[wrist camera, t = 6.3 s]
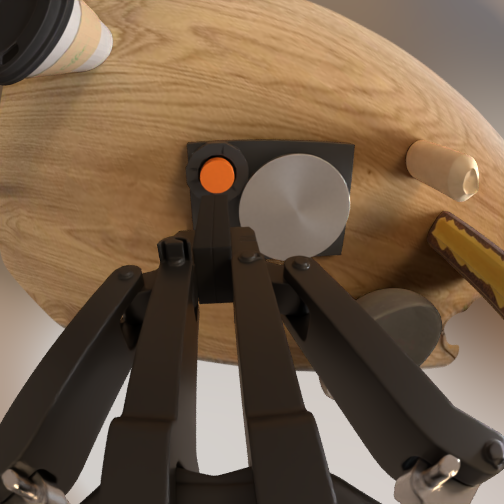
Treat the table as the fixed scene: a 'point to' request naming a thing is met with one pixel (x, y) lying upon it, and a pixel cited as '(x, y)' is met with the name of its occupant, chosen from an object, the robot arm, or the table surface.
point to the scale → (250, 159)
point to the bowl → (404, 321)
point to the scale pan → (295, 205)
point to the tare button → (217, 175)
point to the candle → (443, 169)
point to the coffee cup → (49, 39)
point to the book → (470, 257)
